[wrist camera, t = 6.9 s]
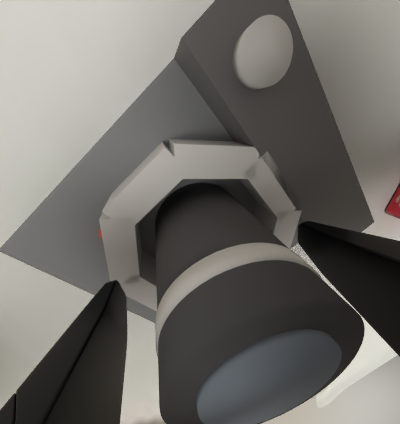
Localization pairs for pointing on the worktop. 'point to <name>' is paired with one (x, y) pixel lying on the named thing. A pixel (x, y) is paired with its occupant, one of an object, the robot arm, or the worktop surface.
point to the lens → (240, 315)
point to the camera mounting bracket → (201, 154)
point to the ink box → (394, 205)
